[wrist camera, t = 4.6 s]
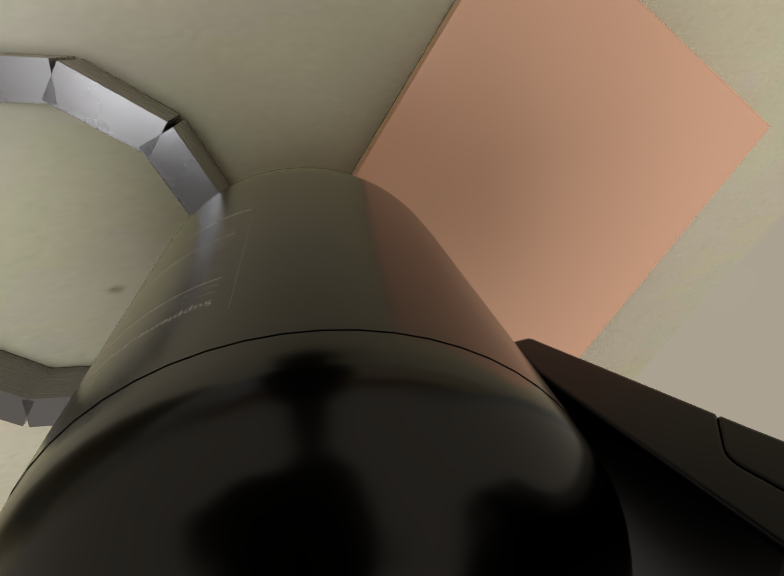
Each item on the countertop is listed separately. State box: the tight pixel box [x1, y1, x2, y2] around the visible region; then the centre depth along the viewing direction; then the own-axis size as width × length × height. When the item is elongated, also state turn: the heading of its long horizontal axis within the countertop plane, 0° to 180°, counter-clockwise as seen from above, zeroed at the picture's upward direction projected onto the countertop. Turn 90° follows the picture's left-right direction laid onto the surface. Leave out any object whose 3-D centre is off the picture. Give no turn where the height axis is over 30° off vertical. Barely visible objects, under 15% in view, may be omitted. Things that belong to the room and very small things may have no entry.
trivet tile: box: [351, 0, 770, 358], centre depth 20 cm, size 13×13×1 cm
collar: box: [0, 53, 230, 427], centre depth 18 cm, size 12×12×2 cm
